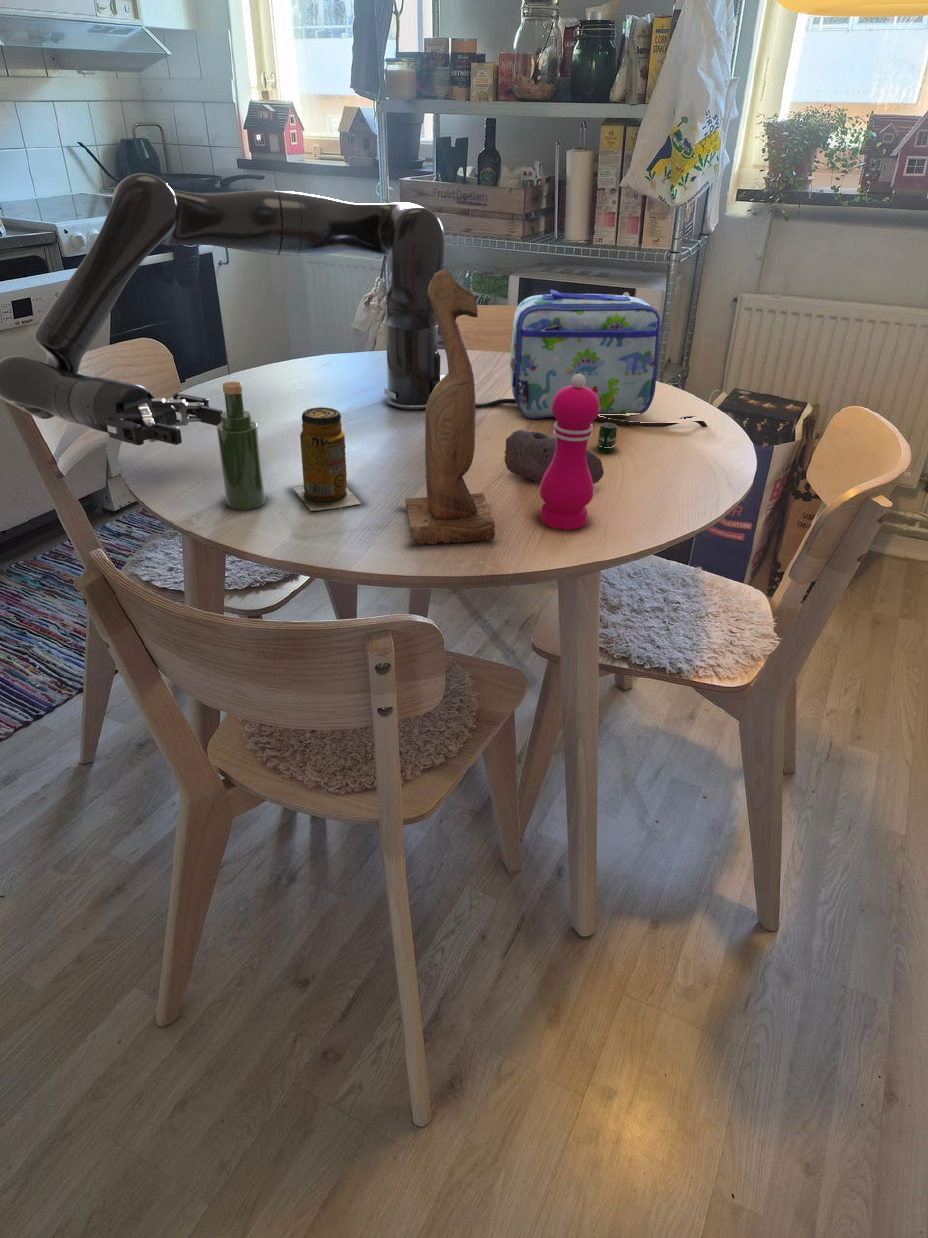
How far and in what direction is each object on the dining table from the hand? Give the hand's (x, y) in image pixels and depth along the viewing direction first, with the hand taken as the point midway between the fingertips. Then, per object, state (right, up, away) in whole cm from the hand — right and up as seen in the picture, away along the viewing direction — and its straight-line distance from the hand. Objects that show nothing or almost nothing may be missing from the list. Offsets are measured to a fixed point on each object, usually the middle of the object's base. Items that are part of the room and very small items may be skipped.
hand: (201, 427), depth 111 cm
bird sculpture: (+33, -14, -1) cm, 36 cm away
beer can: (+59, +2, +25) cm, 64 cm away
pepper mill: (+49, -12, +2) cm, 51 cm away
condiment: (+16, -9, +5) cm, 19 cm away
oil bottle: (+5, -10, +3) cm, 11 cm away
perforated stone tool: (+49, -5, +13) cm, 51 cm away
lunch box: (+56, +12, +41) cm, 71 cm away
